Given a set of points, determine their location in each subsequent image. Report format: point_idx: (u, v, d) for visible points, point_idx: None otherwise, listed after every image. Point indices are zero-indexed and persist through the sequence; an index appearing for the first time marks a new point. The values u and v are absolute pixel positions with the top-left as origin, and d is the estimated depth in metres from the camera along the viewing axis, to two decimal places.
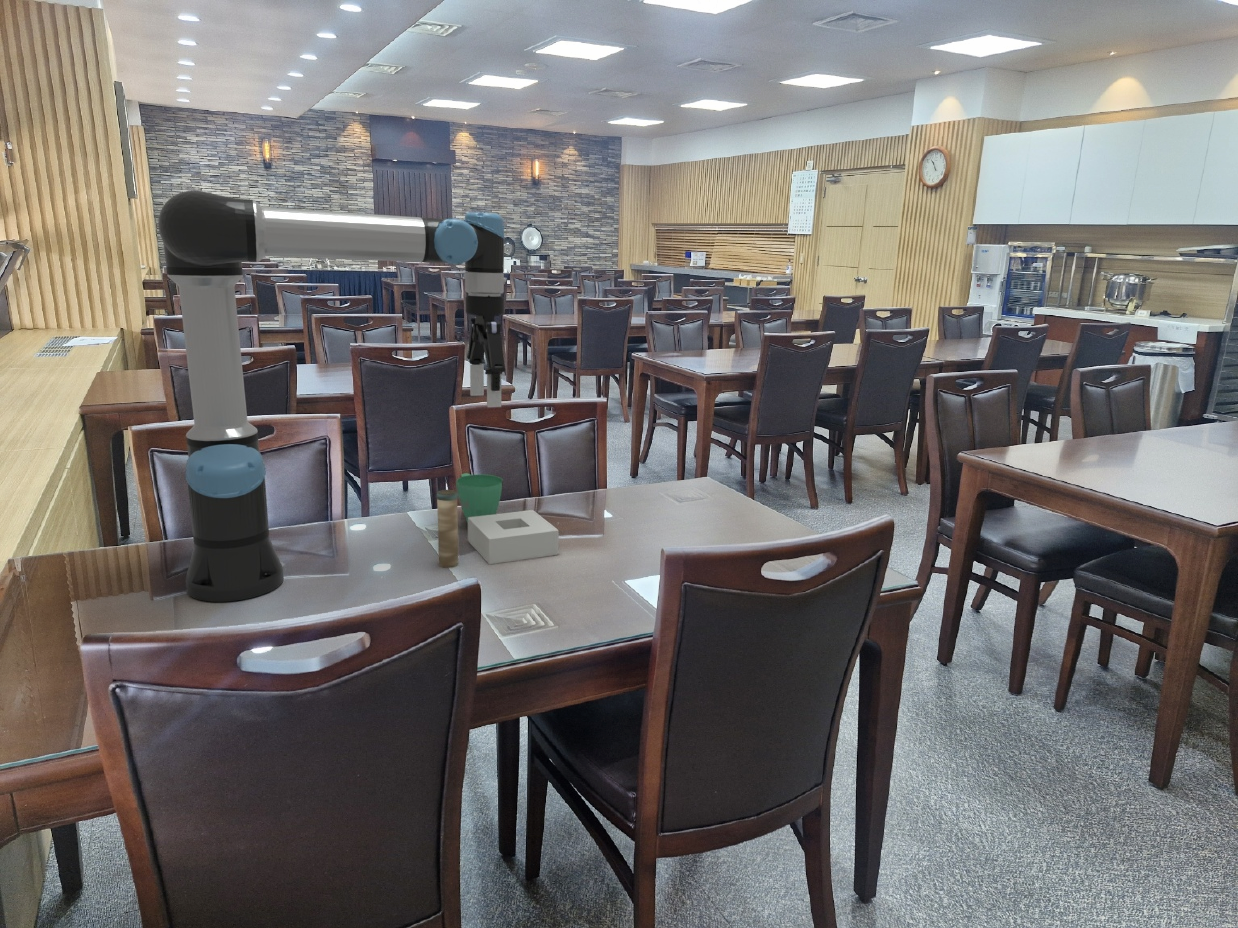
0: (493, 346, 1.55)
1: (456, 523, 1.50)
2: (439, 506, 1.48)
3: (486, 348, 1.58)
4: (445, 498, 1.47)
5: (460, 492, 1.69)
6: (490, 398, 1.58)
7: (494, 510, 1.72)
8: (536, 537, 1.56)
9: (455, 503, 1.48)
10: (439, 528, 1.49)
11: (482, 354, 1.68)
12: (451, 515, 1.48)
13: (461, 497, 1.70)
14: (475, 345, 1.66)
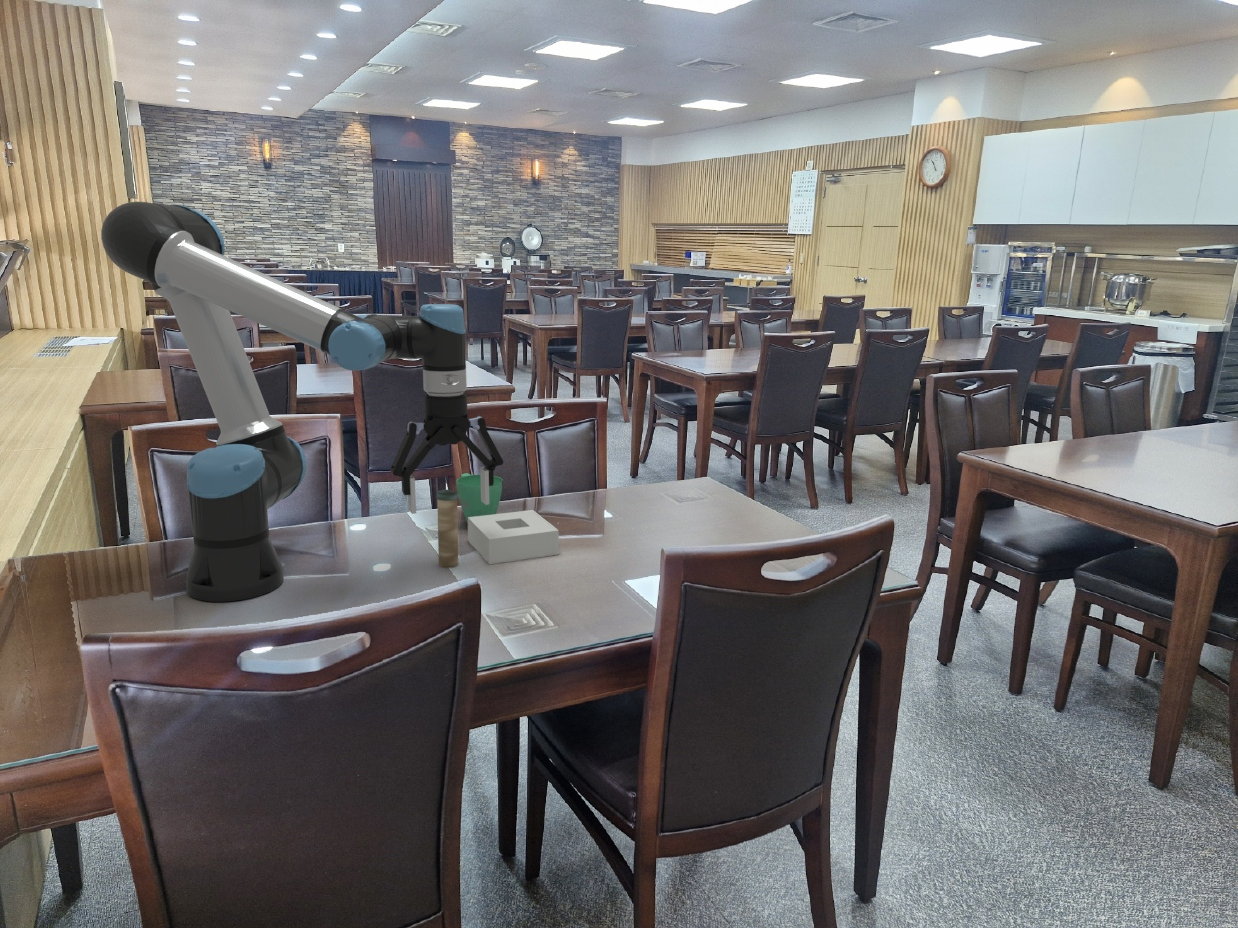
0: (401, 447, 1.43)
1: (456, 523, 1.50)
2: (439, 506, 1.48)
3: None
4: (445, 498, 1.47)
5: (460, 492, 1.69)
6: (408, 501, 1.46)
7: (494, 510, 1.72)
8: (536, 537, 1.56)
9: (455, 503, 1.48)
10: (439, 528, 1.49)
11: (479, 459, 1.49)
12: (451, 515, 1.48)
13: (461, 497, 1.70)
14: (466, 446, 1.49)
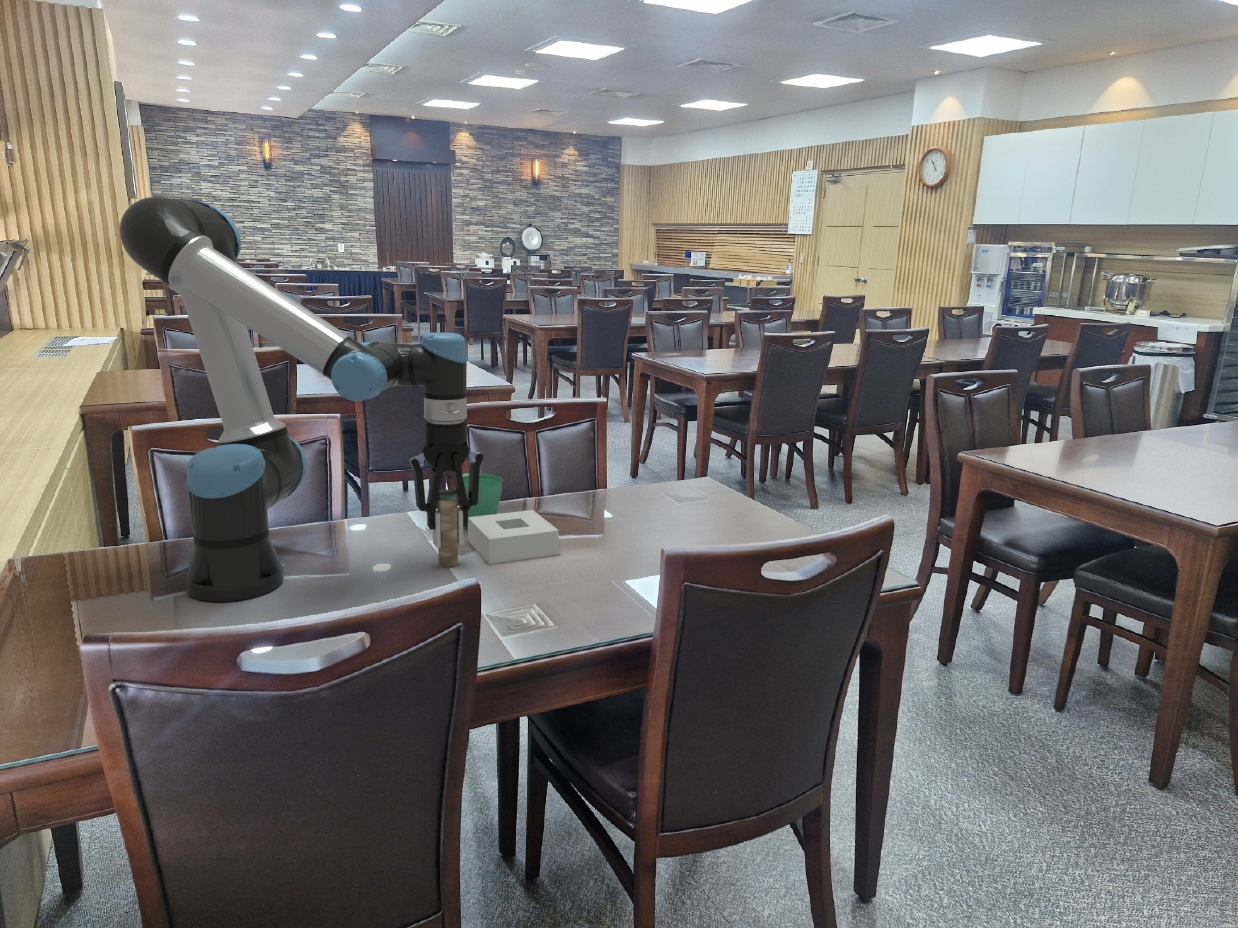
0: (415, 483, 1.46)
1: (456, 523, 1.50)
2: (439, 506, 1.48)
3: None
4: (445, 498, 1.47)
5: None
6: (433, 534, 1.50)
7: (494, 510, 1.72)
8: (536, 537, 1.56)
9: (455, 503, 1.48)
10: None
11: (459, 494, 1.49)
12: (451, 515, 1.48)
13: None
14: (453, 478, 1.50)
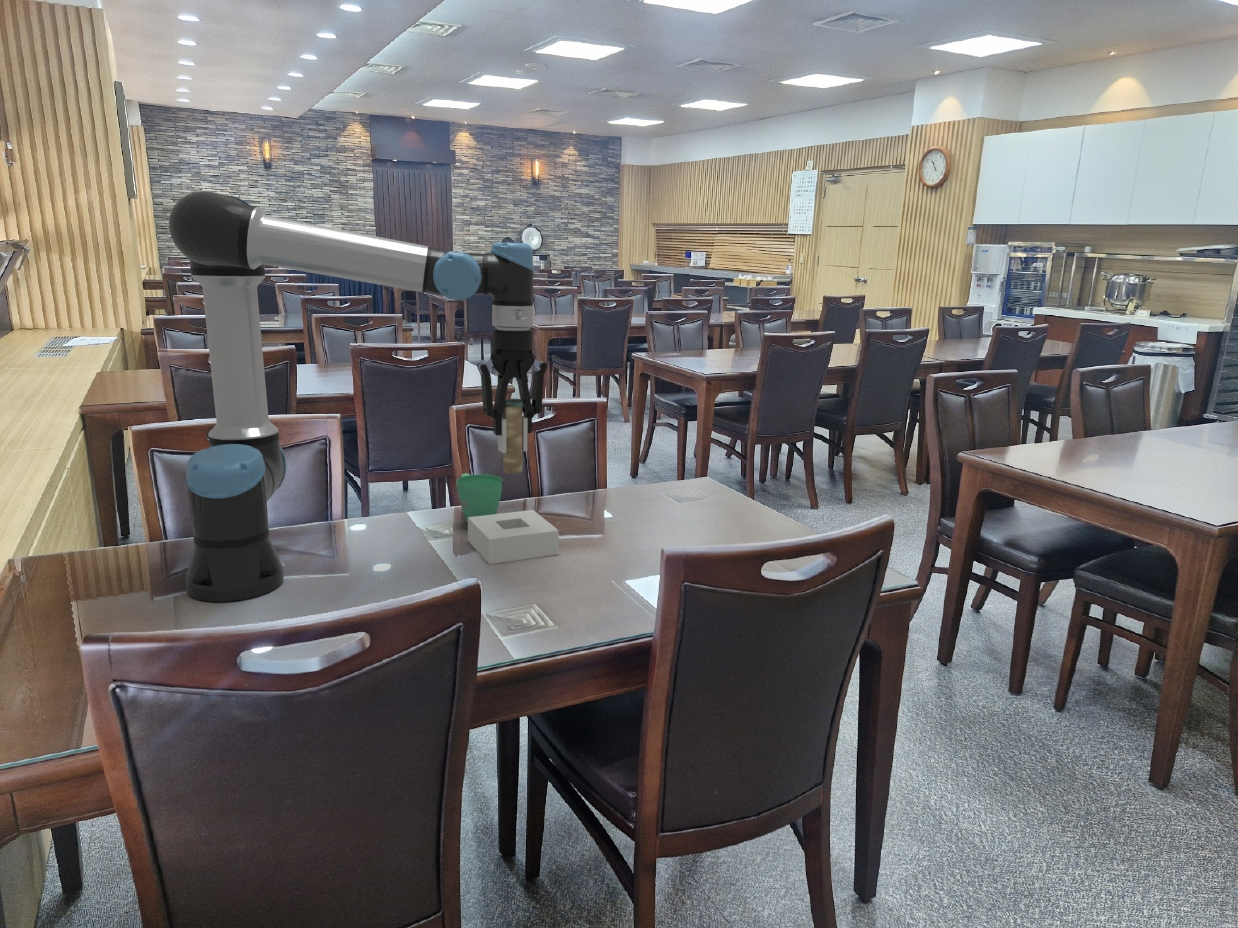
0: (482, 389, 1.52)
1: (521, 430, 1.55)
2: (505, 413, 1.54)
3: None
4: (511, 405, 1.53)
5: (460, 492, 1.69)
6: (498, 441, 1.56)
7: (494, 510, 1.72)
8: (536, 537, 1.56)
9: (520, 410, 1.54)
10: None
11: (524, 401, 1.55)
12: (517, 421, 1.54)
13: (461, 497, 1.70)
14: (518, 386, 1.55)
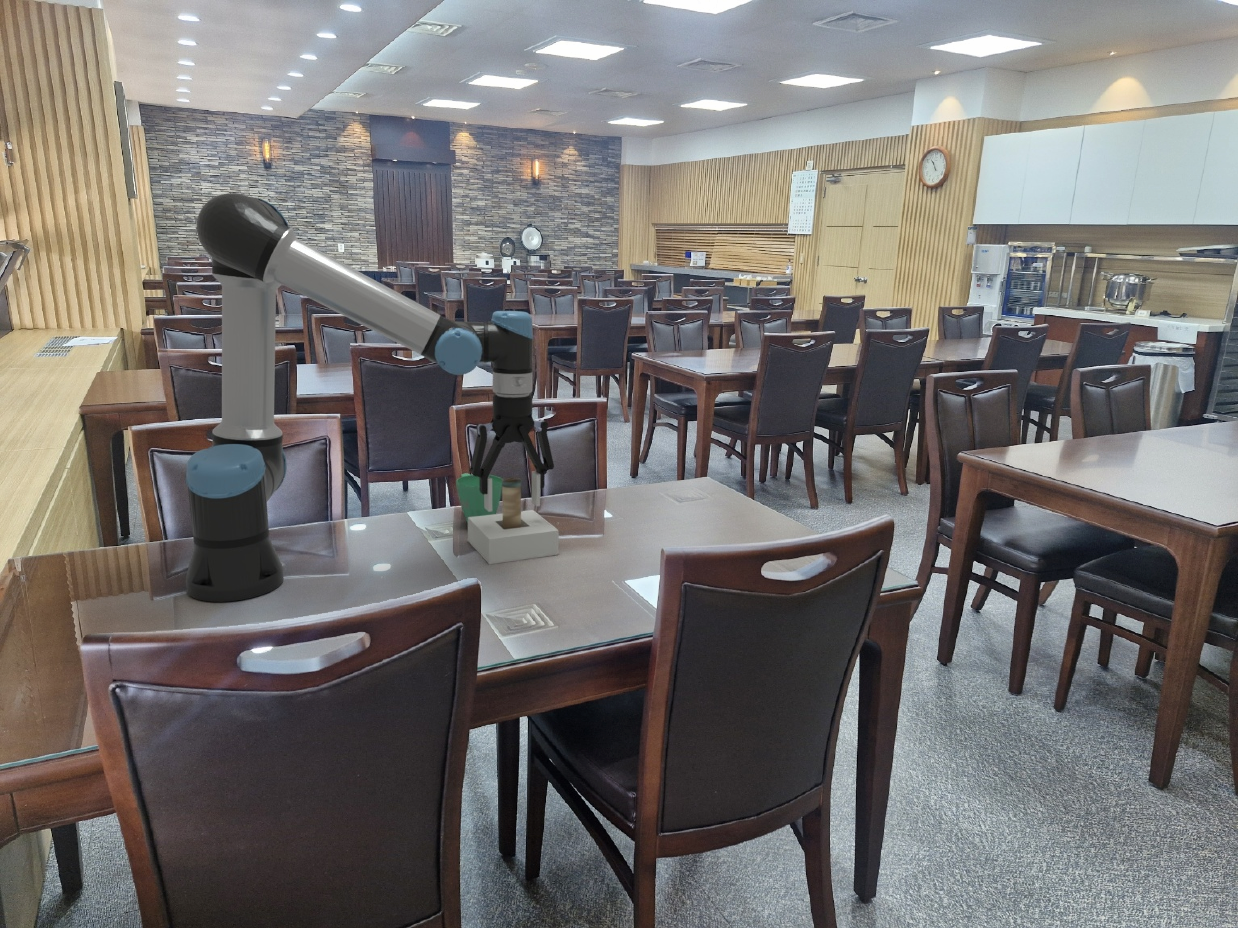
0: (475, 448, 1.54)
1: (520, 509, 1.59)
2: (504, 493, 1.57)
3: (490, 449, 1.56)
4: (510, 485, 1.57)
5: (460, 492, 1.69)
6: (485, 499, 1.58)
7: (494, 510, 1.72)
8: (536, 537, 1.56)
9: (519, 490, 1.58)
10: (504, 514, 1.59)
11: (534, 460, 1.58)
12: (516, 501, 1.58)
13: (461, 497, 1.70)
14: None
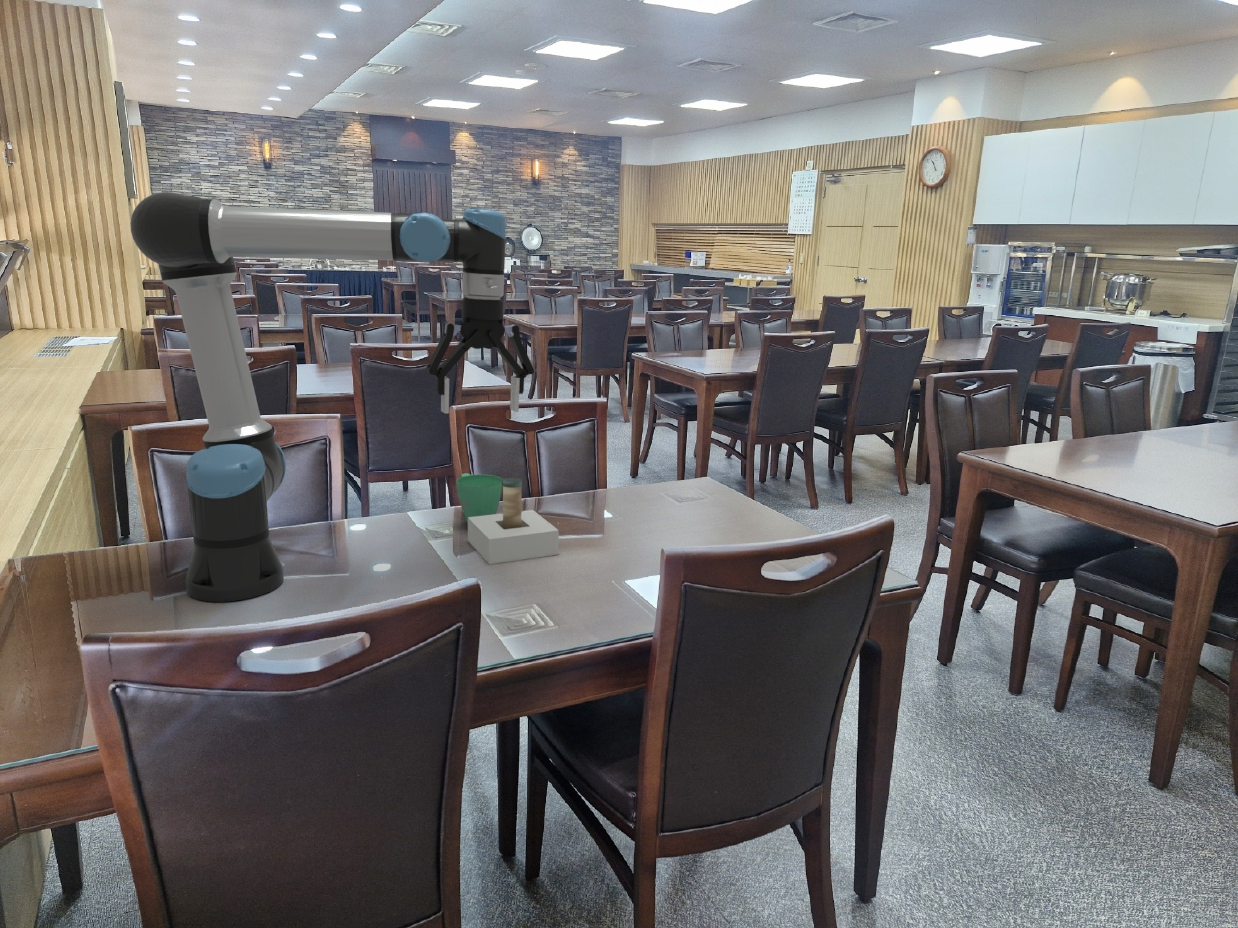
0: (437, 347, 1.48)
1: (520, 509, 1.59)
2: (505, 493, 1.58)
3: None
4: (511, 485, 1.57)
5: (460, 492, 1.69)
6: (441, 402, 1.51)
7: (494, 510, 1.72)
8: (536, 537, 1.56)
9: (520, 490, 1.58)
10: (504, 513, 1.59)
11: (511, 366, 1.54)
12: (516, 501, 1.58)
13: (461, 497, 1.70)
14: (499, 353, 1.54)
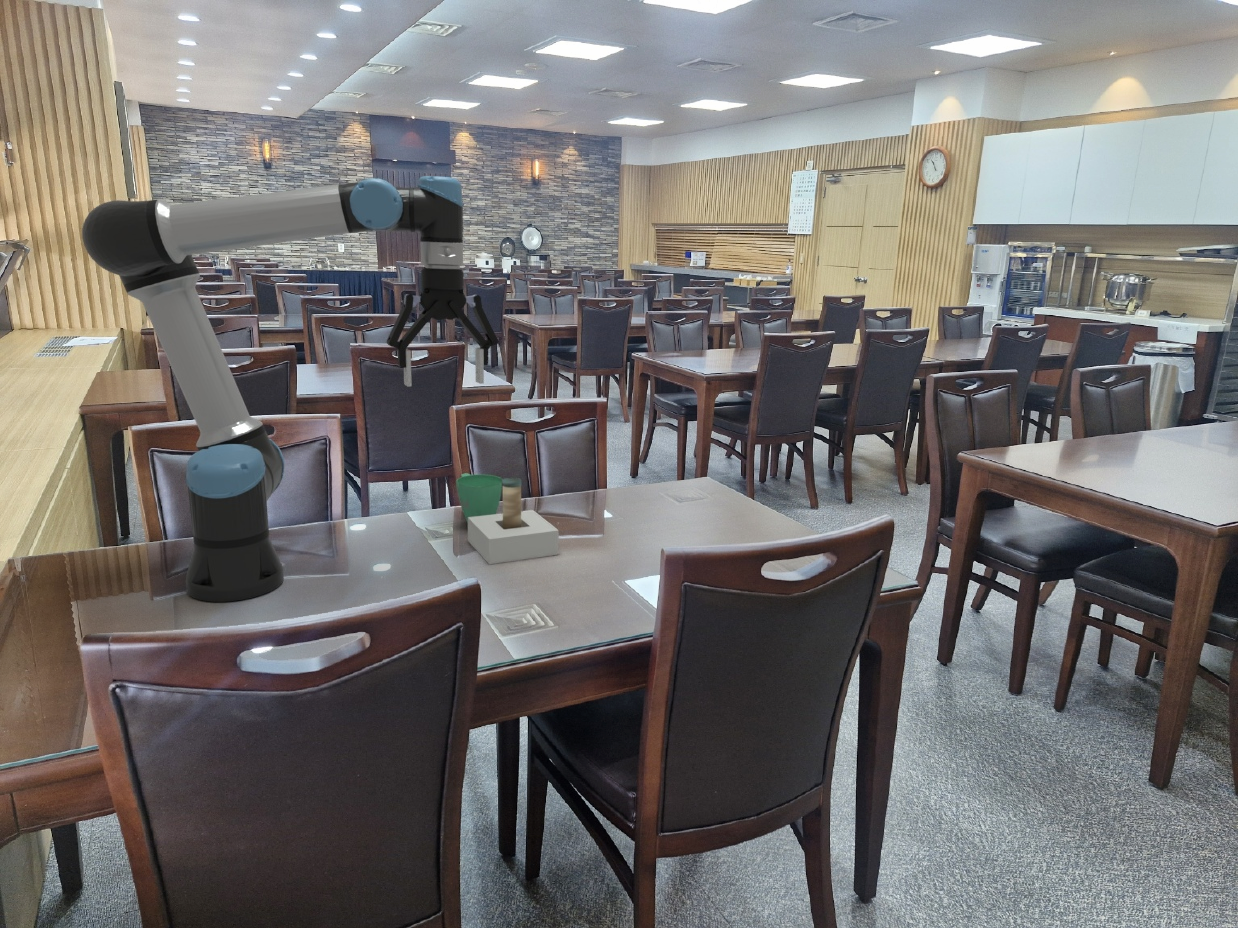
0: (397, 319, 1.46)
1: (520, 509, 1.59)
2: (505, 493, 1.58)
3: None
4: (510, 485, 1.57)
5: (460, 492, 1.69)
6: (404, 375, 1.49)
7: (494, 510, 1.72)
8: (536, 537, 1.56)
9: (519, 490, 1.58)
10: (504, 513, 1.59)
11: (474, 337, 1.51)
12: (516, 501, 1.58)
13: (461, 497, 1.70)
14: (462, 324, 1.52)
